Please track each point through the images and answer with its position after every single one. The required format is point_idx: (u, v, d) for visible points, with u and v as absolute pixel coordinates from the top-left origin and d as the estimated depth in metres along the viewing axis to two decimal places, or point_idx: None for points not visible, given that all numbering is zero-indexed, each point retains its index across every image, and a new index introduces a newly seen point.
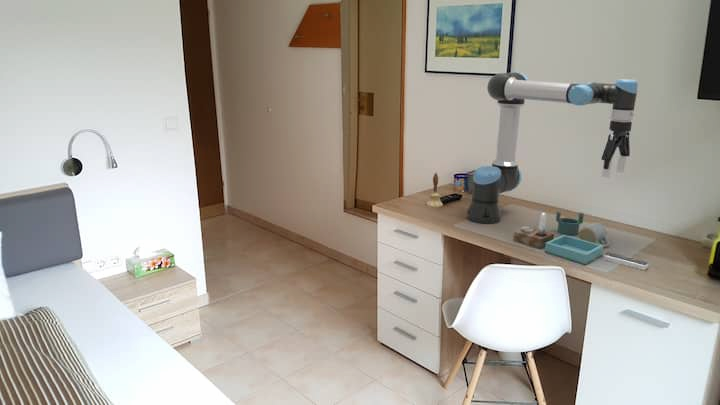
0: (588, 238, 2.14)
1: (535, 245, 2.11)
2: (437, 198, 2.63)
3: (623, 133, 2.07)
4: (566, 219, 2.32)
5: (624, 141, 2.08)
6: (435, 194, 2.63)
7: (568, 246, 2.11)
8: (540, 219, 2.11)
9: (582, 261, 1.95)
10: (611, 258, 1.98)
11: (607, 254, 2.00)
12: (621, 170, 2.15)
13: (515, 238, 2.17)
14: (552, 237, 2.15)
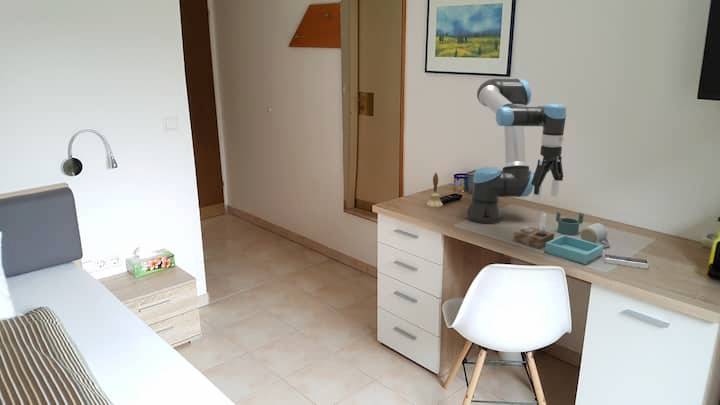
0: (589, 238, 2.14)
1: (535, 245, 2.11)
2: (437, 198, 2.63)
3: (554, 158, 2.05)
4: (566, 219, 2.32)
5: (555, 166, 2.06)
6: (435, 194, 2.63)
7: (568, 246, 2.11)
8: (540, 219, 2.11)
9: (582, 261, 1.95)
10: (613, 260, 1.96)
11: (607, 256, 1.98)
12: (555, 194, 2.13)
13: (515, 238, 2.17)
14: (552, 237, 2.15)
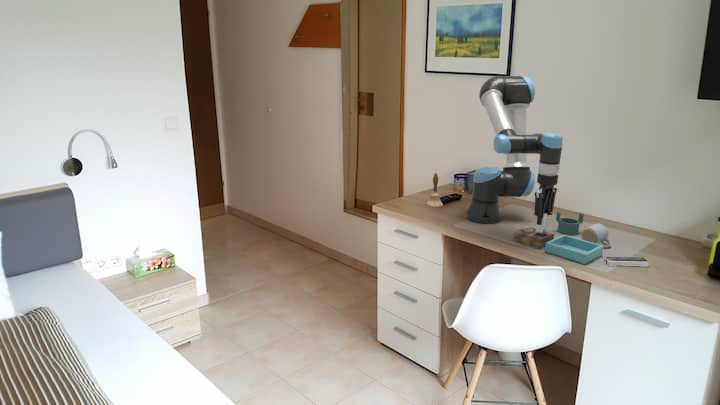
0: (590, 239, 2.13)
1: (535, 245, 2.11)
2: (437, 198, 2.63)
3: None
4: (566, 219, 2.32)
5: (550, 194, 2.08)
6: (435, 194, 2.63)
7: (568, 246, 2.11)
8: None
9: (582, 261, 1.95)
10: (616, 262, 1.94)
11: (609, 259, 1.95)
12: None
13: (515, 238, 2.17)
14: (552, 237, 2.15)
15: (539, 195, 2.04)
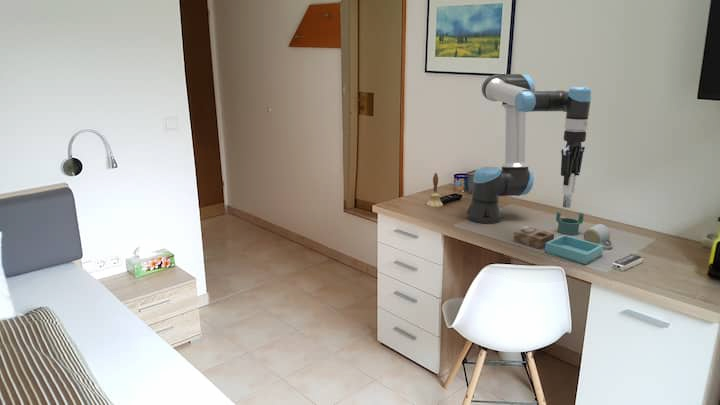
0: (592, 239, 2.12)
1: (535, 245, 2.11)
2: (437, 198, 2.63)
3: None
4: (566, 219, 2.32)
5: (578, 152, 1.97)
6: (435, 194, 2.63)
7: (568, 246, 2.11)
8: None
9: (582, 261, 1.95)
10: (627, 265, 1.91)
11: (620, 264, 1.91)
12: None
13: (515, 238, 2.17)
14: (552, 237, 2.15)
15: (566, 152, 1.93)
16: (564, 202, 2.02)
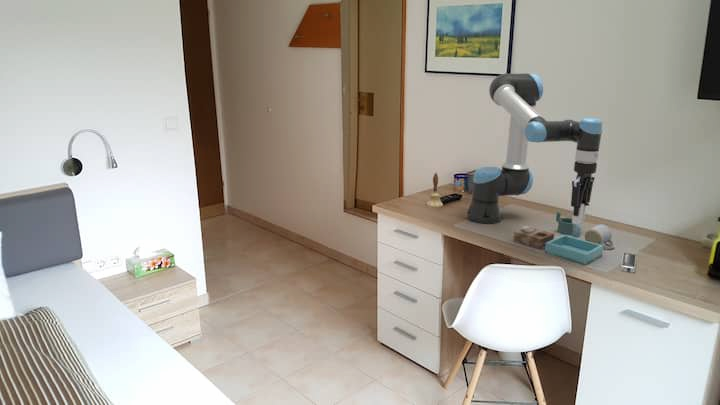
0: (594, 240, 2.12)
1: (535, 245, 2.11)
2: (437, 198, 2.63)
3: None
4: (566, 219, 2.32)
5: (588, 183, 1.97)
6: (435, 194, 2.63)
7: (568, 246, 2.11)
8: None
9: (582, 261, 1.95)
10: None
11: (630, 266, 1.90)
12: None
13: (515, 238, 2.17)
14: (552, 237, 2.15)
15: (577, 184, 1.92)
16: (574, 232, 2.02)
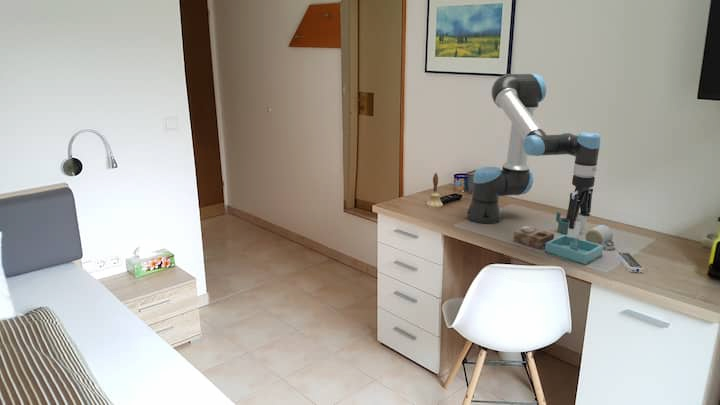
0: (595, 240, 2.12)
1: (535, 245, 2.11)
2: (437, 198, 2.63)
3: None
4: (566, 219, 2.32)
5: (587, 197, 1.98)
6: (435, 194, 2.63)
7: (568, 246, 2.11)
8: None
9: (582, 261, 1.95)
10: None
11: (638, 266, 1.89)
12: (581, 230, 2.04)
13: (515, 238, 2.17)
14: (552, 237, 2.15)
15: (575, 196, 1.93)
16: (571, 248, 2.04)
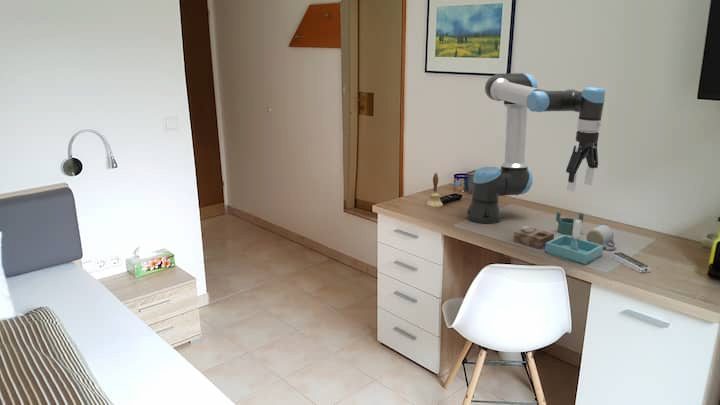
0: (596, 240, 2.11)
1: (535, 245, 2.11)
2: (437, 198, 2.63)
3: (590, 144, 1.96)
4: (566, 219, 2.32)
5: (591, 152, 1.97)
6: (435, 194, 2.63)
7: (568, 246, 2.11)
8: (574, 226, 2.01)
9: (582, 261, 1.95)
10: None
11: (645, 266, 1.90)
12: (589, 182, 2.04)
13: (515, 238, 2.17)
14: (552, 237, 2.15)
15: (579, 148, 1.91)
16: (571, 248, 2.04)
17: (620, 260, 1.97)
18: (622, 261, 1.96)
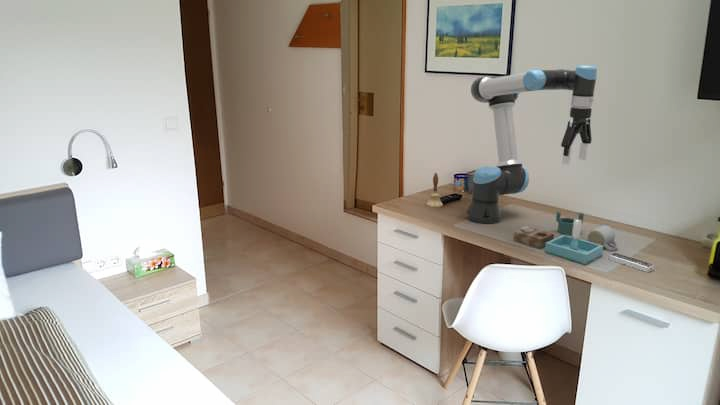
0: (597, 241, 2.11)
1: (535, 245, 2.11)
2: (437, 198, 2.63)
3: (583, 120, 2.06)
4: (566, 219, 2.32)
5: (584, 128, 2.07)
6: (435, 194, 2.63)
7: (568, 246, 2.11)
8: (574, 226, 2.01)
9: (582, 261, 1.95)
10: None
11: (649, 264, 1.91)
12: (583, 157, 2.14)
13: (515, 238, 2.17)
14: (552, 237, 2.15)
15: (573, 123, 2.01)
16: (571, 248, 2.04)
17: (621, 261, 1.96)
18: (623, 262, 1.96)
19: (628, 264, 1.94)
